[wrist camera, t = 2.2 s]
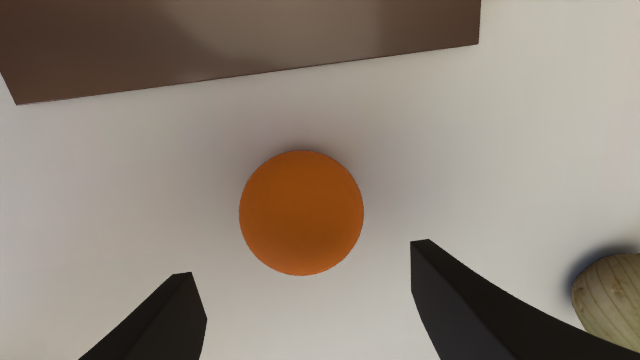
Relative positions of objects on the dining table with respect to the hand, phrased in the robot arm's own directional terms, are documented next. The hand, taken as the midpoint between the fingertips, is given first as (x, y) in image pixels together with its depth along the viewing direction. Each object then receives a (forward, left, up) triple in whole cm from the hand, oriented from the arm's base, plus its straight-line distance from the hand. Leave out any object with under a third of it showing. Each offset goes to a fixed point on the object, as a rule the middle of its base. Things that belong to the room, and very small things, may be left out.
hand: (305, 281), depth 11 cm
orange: (0, 0, -8) cm, 8 cm away
